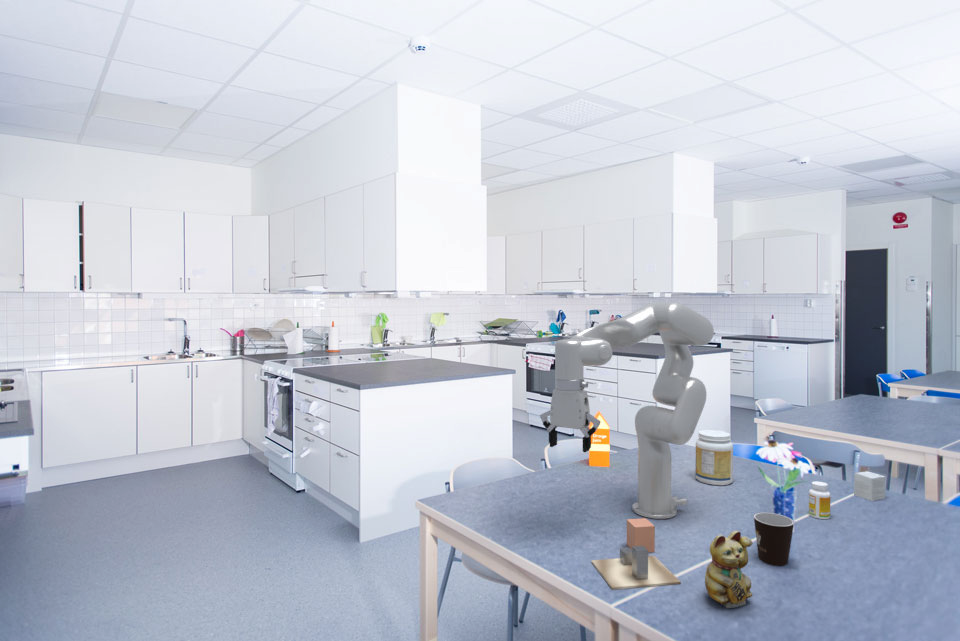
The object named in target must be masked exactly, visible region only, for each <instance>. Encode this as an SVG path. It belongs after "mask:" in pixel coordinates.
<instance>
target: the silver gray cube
mask: <svg viewBox="0 0 960 641" xmlns="http://www.w3.org/2000/svg"><path fill="white" fill-rule="evenodd" d="M619 558H620V561H621V562H622V564H623V565H624V566H626V565H632V549H631V548H629V547H621V548H619Z"/></svg>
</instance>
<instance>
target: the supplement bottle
mask: <svg viewBox="0 0 960 641" xmlns="http://www.w3.org/2000/svg"><path fill="white" fill-rule="evenodd" d="M828 489H829V484H828V483H826V482H825V481H823V482H822V481H816V480H815V481H812V482H811V488H810V489H809V490H808V515H809V517H810V516H811V517H812V518H815V519H818V520H819V519H820V520H829V519H830V518H831V498H832V497H831V492H830V491H828Z"/></svg>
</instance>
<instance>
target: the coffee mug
mask: <svg viewBox="0 0 960 641" xmlns="http://www.w3.org/2000/svg"><path fill="white" fill-rule="evenodd" d="M753 521H754V530H755V541H756V548H757V558H758V560H760V562H762V563H764V564H767V565H770V566H776V567H785V566H787V565H788V563H789V558H790V552H791V546H792V545H791V544H792V540H793V539H792V538H793V532H794V525H795V521H794V520H793V519H792V518H790V517H789V516H785V515H782V514H779V513H774V512H759V513H755V514H754V515H753Z"/></svg>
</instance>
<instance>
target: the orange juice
mask: <svg viewBox="0 0 960 641" xmlns="http://www.w3.org/2000/svg"><path fill="white" fill-rule="evenodd" d="M594 417H595V418H597V419H598V420H600V421H601V423H600V425H599V427H598V429H597V431H596V432H595V433H594V434H593V435H591V448H590V450H589V451H588V462H589V467H603V468H609V467H610V457H611V456H610V444H611V443H610V441H611V437H610V436H611V432H610V430H611V428H610V425H609V423H608V422H607V420H606V419H605V417H604V416H603V415H602V413H601V411H600V410H598V411H597V412H596V414H595V415H594ZM592 426H593V423H592V422H590V425H589V426H588V427H589V428H590V429H591V428H592Z"/></svg>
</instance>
